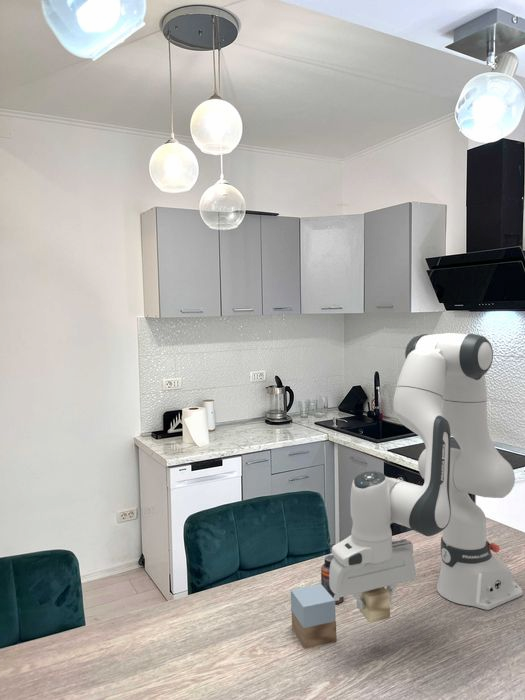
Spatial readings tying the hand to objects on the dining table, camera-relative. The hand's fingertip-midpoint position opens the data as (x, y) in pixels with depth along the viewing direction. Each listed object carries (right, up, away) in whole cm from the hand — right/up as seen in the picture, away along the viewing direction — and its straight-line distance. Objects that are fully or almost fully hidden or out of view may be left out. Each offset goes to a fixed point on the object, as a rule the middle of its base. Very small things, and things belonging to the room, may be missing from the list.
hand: (374, 605), depth 116 cm
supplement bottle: (-6, -10, +22) cm, 25 cm away
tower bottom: (-13, -11, +7) cm, 18 cm away
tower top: (-13, -6, +6) cm, 16 cm away
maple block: (0, -2, 0) cm, 2 cm away
